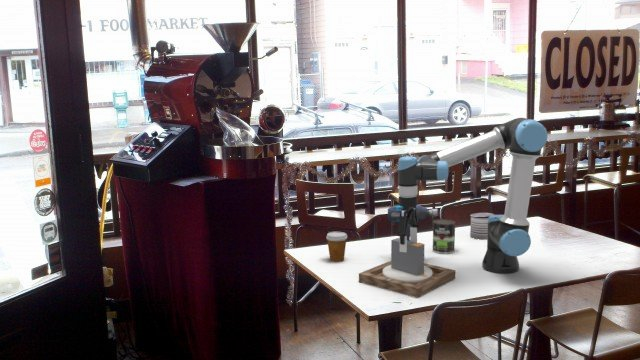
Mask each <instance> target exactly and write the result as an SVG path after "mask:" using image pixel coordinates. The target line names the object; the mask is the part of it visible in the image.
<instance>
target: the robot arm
mask: <svg viewBox="0 0 640 360" xmlns="http://www.w3.org/2000/svg"><path fill="white" fill-rule="evenodd" d="M547 141H548V131H547V129H546V127H545V126H544V125H543V124H542V123H540V121H537V120H535V119H532V118H531V119H530V118H525V117H517V118H514V119H511V120H508V121H506V122H504V123H502V124H499V125H497V126H495V127H494V128H493V129H492V130H491V131H489V132H488V131H487V132H486V133H483V134H481V135H478V136H475V137H473V138H471V139H468V140H465V141H462V142H460V143H458V144H455V145H453V146H450V147H447V148H445V149H443V150H440V151H437V152H434V153H431V154H430V155H428V154H427V155H422V156H421V157H419V158H418V157H416V156H412V155H411V156H408V155H407V156H401V157H399V158H398V163H397V164H398V165H397V174H398V175H397V178H398V180H397V181H398V186H397V187H396V188H397V190H398V195H399V196H398V206H402V207H403V210H402V211H400V218H399V224H398V227H397V233H396V236H397V237H398V238H399V243H400V252H407V236H406V231H407V227H408V222H410V225H411V227H410V241H411V242H415V243H418V228H420V221H418V216H417V210H416V206H417V205H419V203H418V201H419V200H418V193H419V191H418V189H419V188H418V187H419V186H418V182H420V181H421V182H422V181H441V180H442V181H443V180H447V179H448V177H449V168H450V167H453V166H456V165H457V164H460V163H464V162H466V161H468V160H471V159H475V158H476V157H479V156H481V155H484V154H486V153H489V152H492V151H495V150H497V149H499V148H500V149H502V150H504V149H508V148H509V153H510V155H511V157H512V162H511V167H510V173H509V181H508V187H507V194H506V202H505V208H504V214H494V215H491V216H489V218H488V223H487V224H488V234H487V240H486V241H487V242H486V243H487V244H486V251H485V254H484V256H483V258H482V263H481V265H482V266H481V267H482V269H483V270H486V271H488V272H491V273H496V274H511V273H516V272H518V271H519V269H520V262H519V259H518V257H519V256H522V255H524V254H525V253H526V252H528V251H529V249H530V247H531V244H532V243H531V242H532V241H531V235H530V234H529V230H530V221H529V220H528V219H527V217H528V211H529V205H530V200H531V199H530V198H531V193H532V184H533V178H534V171H535V166H536V160H537V159H538V158H539V157H541V154H542V149H543V148H544V147H545V145H546V144H547Z"/></svg>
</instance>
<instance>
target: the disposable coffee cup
mask: <svg viewBox="0 0 640 360" xmlns="http://www.w3.org/2000/svg"><path fill="white" fill-rule="evenodd" d="M347 239H348V234H347V233H346V232H342V231H330V232H328V233H327V235H326V240H327V247H328V254H329V260H330V262H333V263H335V262H336V263H340V262H343V261H345V256H346V255H345V253H346V246H347Z"/></svg>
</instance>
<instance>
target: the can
mask: <svg viewBox="0 0 640 360" xmlns="http://www.w3.org/2000/svg"><path fill="white" fill-rule="evenodd" d="M491 215H495V213H490V212H476V213H471V214H469V216H470V230H469V231H470V232H469V234H470V235H469V237H470V238H471V239H473V238H474V239H473V240H478V239H479V241H480V240H481V241H487V234H488V224H487V223H488V218H489V216H491Z"/></svg>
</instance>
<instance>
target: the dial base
mask: <svg viewBox="0 0 640 360" xmlns="http://www.w3.org/2000/svg"><path fill="white" fill-rule="evenodd" d="M389 265H391V260H389V261H386V262H384V263H381V264H378V265H376V266H374V267H371V268H369V269H366V270H365V271H362V272H360V273H358V282H359V283H363V284H366V285H369V286H374V287H378V288H381V289H384V290H388V291H391V290H392V292H395V293H400V294H404V295H408V296H410V297H414V298H420V297H422V296H424V295H426V294H427V293H429V292H431V291H433V290H436V289H437V288H440V287H441V286H443V285H446V284H448V283H449V282H451V281H453V280H455V279H456V273H457V272H456V269H452V268H449V267H448V268H447V267H443V266H438V265H434V264H429V263H425V262H424V266H426V267H428V268H430V269H431V270H432V277H431V278H429V279H427V280H424V281H422V282H420V283H418V284H410V283H406V282H402V281H398V280H394V279H391V278H386V277H383V269H384V268H385V267H386V266H389Z"/></svg>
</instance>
